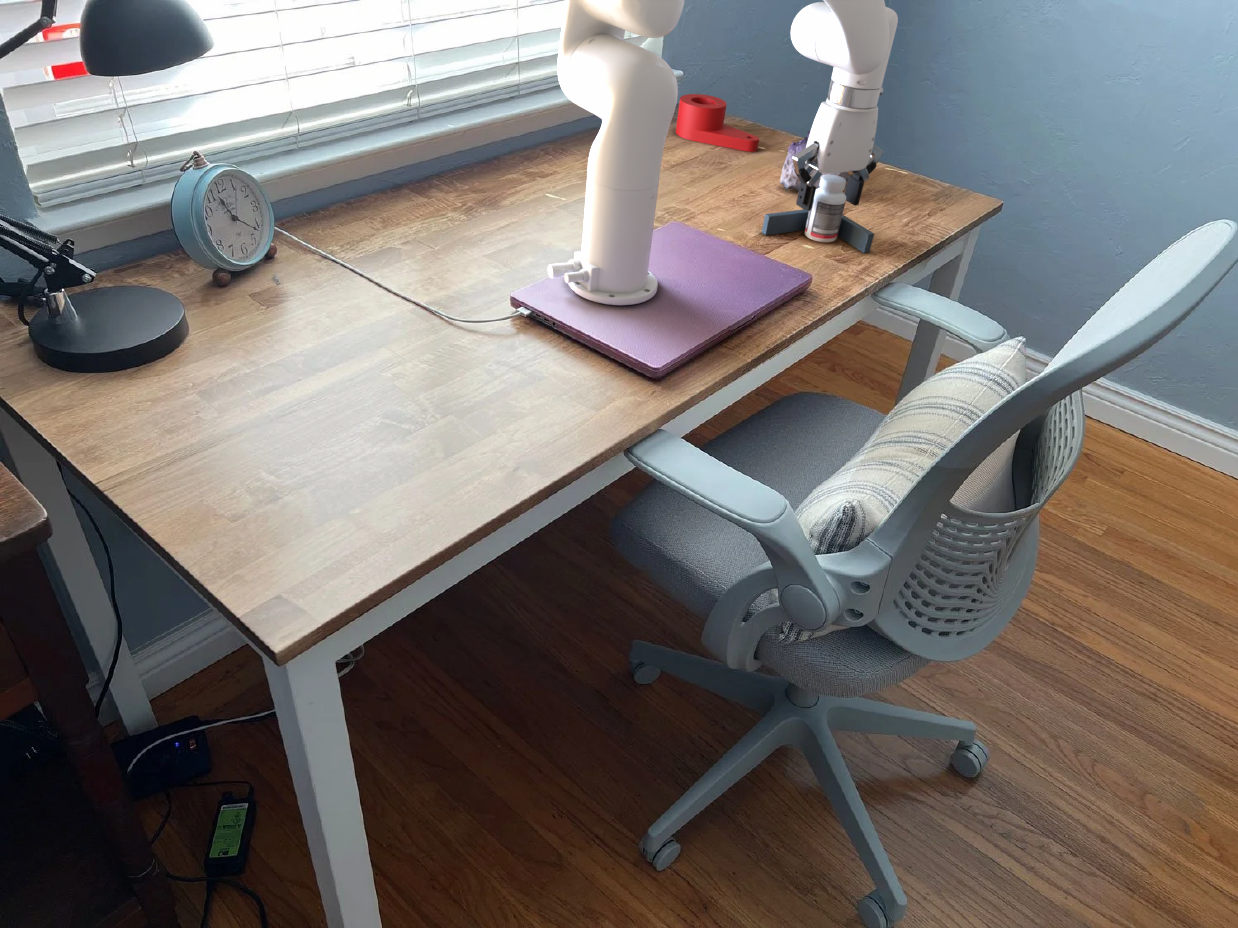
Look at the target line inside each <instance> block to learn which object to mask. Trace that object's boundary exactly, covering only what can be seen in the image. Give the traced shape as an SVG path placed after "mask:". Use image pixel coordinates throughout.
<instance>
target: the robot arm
mask: <svg viewBox="0 0 1238 928" xmlns="http://www.w3.org/2000/svg"><path fill="white" fill-rule="evenodd" d="M685 2H686V0H565V2H564V8H563V17H562V23H561V24H562V25H561V31H560V39H559V47H558V55H557V78H558V83H559V86H560V88H561V91H562V93H563V94H564V95H565V97H566V98H567V99H568V100H569V101H570V102H572V103H573V104H575V105H576V106H578V107H580V108H582V109H584V110H586V111H587V112H589V113H591V114H593V115H595V116H596V117H598V118H599V119H601V121H602V122H601V125H600V129H599V131H598V133H597V134H596V137H595V139H594V140H593V142H592V145H591V147H590V151H589V155H588V160H587V169H586V170H587V172H586V187H585V198H584V199H585V200H584V214H583V226H582V239H581V250H579V251H574V252H573V259H568V261H567V262H557V263H550V264H548V265H547V275H548V277H549V279H559V278H563V279H564V280H563V281H564V282H565V283H566V284H568V286H569V287H570V289H571V290H572V291H573V292H574V293H575V294H576V295H578V296H580V297H582V298H584V299H586V300H588V301H592V302H595V303H598V304H603V305H608V306H609V305H610V306H631V305H637V304H638V305H639V304H641V303H645V302H646V301H649V300H650V299H652V298H653V297H654V296H655V295H656V294H657V291H658V286H659V285H658V284H659V283H658V279H657V277H656V276H655V275H654V273H652V271H650V270H649V267H650V260H651V259H650V257H651V251H652V244H653V236H654V235H653V234H654V227H655V219H656V210H657V201H658V194H659V193H658V192H659V186H660V177H661V169H662V162H663V157H664V150H665V144H666V142H667V136H668V133H669V129H670V127H671V124H672V121H673V117H674V114H675V111H676V108H677V103H678V100H679V86H678V85H679V84H678V80H677V77H676V75H675V72H674V71H673V69H672V67H671V66H670V65H669V63H668V62H667V61H666V60H664V59H663V58H662V57H660V56H659V55H658V54H656V53H655V52H653V51H650V49H649V50H648V49H647V48H644V47H642V46H639V45H638V44H635V43H632V42H630V41H626V40H624V39H625V34H626V32H628V33H631V34H633V35H637V36H639V37H644V38H649V39H659V38H663V37H665V36H667V35H669V34H670V33H671V32H672V31H673V30H675V28H676V27H677V25H678V23H679V21H680V19H681V16H682V13H683V10H684V7H685ZM898 22H899V16H898V14H897V12H896V11H895V10H894V9H892V8H891V7H888V6H886V2H885V0H822V1H818V2H813V3H810V4H808V5H806V6H805V7H803V8H802V9H800V11H798V12H797V14H796V15H795V17H794V18H793V21H792V23H791V26H790V40H791V42H792V45H793V47H794V48H795V50H796V51H797V52H798V53H799V54H801V55H802V56H803V57H805V58H807V59H810V60H813V61H816V62H817V63H821V64H824V65H828V66H831V67H832V68H833V69H832V73H831V78H830V83H829V88H828V92H827V97H826V100H825V101H822V102H821V103H820V106H819V107H818V110H817V113H816V115H815V117H814V119H813V123H812V126H811V128H810V135H809V138H808V142H807V146H806V148H805V149H803V150H802V151H800V152H799V153H797V154H796V155H794V156H793V158H792V159H793V164H794V168H795V169H794V172H795V174H796V175H797V177H798V180H799V181H801V183H800V188H799V190H798V193H797V196H796V197H797V198H796V201H795V202H796V206H797V207H799V208H801V209H802V210H803V209H804V210H806V211H810V210H811V209H812V205H813V200H814V196H815V192H816V187H815V186H814V184H815V182H816V181H817V180H818V179H819V178H820V177H821V175H822V174H830V173H841V172H848V173H850V172H851V174H848V180H847V182H846V185H845V189H844V192H843V193H844V194H845V195H846V202H847V203H850V204H851V205H853V206H859V204H860V201H861V197H862V194H863V188H864V185H865V182H866V181H868V180H869V179H870V175H871V174H872V172H873V171H875V169H876V168H877V164H878V163H879V162H880V160H881V158H882V157H883V155H884V153H885V152H884V150H882V148H880V147H879V146H877V145H876V144H875V138H876V133H877V127H878V126H877V125H878V118H879V116H878V115H879V106H878V102H879V99H880V96H882V95H883V93H884V87H883V84H884V79H885V75H886V71H887V67H888V63H889V59H890V56H891V51H892V48H893V43H894V39H895V35H896V31H897V27H898ZM805 164H806V165H807V166H806V167H805ZM818 165H819V166H818ZM813 170H815V172H814V173H813V174H812V175H811V176H810V175H809V174H810V173H811V172H812V171H813Z"/></svg>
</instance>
